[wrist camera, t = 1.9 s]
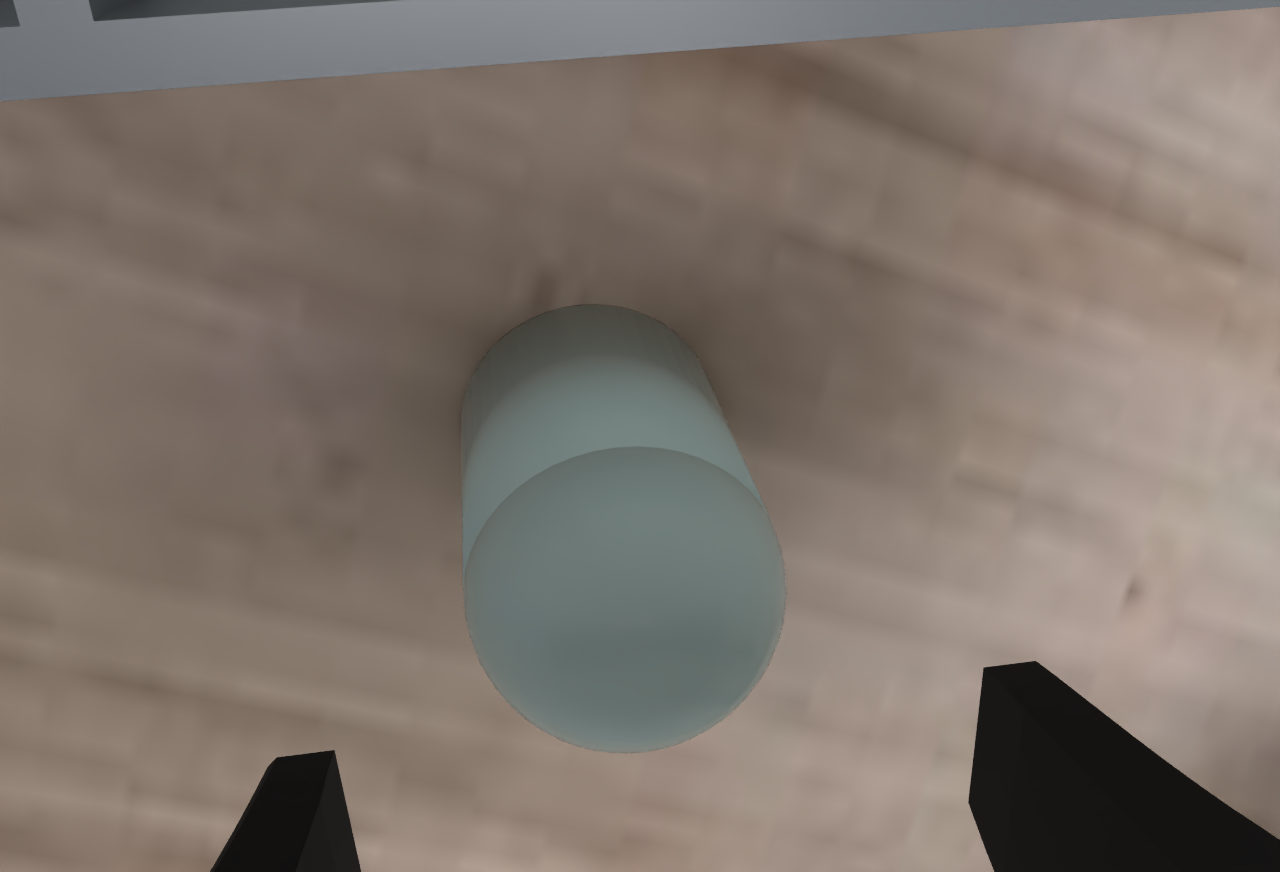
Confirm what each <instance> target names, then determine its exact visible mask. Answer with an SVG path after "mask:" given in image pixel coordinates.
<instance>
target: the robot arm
mask: <svg viewBox="0 0 1280 872" xmlns="http://www.w3.org/2000/svg"><path fill="white" fill-rule="evenodd" d="M969 805H970V808H971V811H972V813H973V816H974V819H975V822H976V824H977V827H978V830H979V833H980V835H981V838H982V841H983V844H984V846H985V849H986V852H987V854H988V857H989V859H990V862H991V864H992V867H993V869H994V872H1280V840H1279V839H1278V838H1276V837H1275V836H1273V835H1272V834H1270V833H1268V832H1267V831H1265V830H1264V829H1262V828H1261V827H1259V826H1258V825H1256V824H1255V823H1253V822H1252V821H1250V820H1249V819H1247V818H1246V817H1244V816H1243V815H1241V814H1240V813H1238V812H1237V811H1235V810H1234V809H1232V808H1231V807H1229V806H1228V805H1227V804H1225V803H1224V802H1222V801H1221V800H1219V799H1218V798H1217V797H1215V796H1214V795H1212V794H1211V793H1209V792H1208V791H1207V790H1205V789H1204V788H1202V787H1201V786H1199V785H1198V784H1197V783H1195V782H1194V781H1193V780H1191V779H1190V778H1188V777H1187V776H1186V775H1184V774H1183V773H1181V772H1180V771H1179V770H1177V769H1176V768H1175V767H1173V766H1172V765H1171V764H1169V763H1168V762H1167V761H1165V760H1164V759H1163V758H1161V757H1160V756H1159V755H1157V754H1156V753H1155V752H1153V751H1152V750H1151V749H1149V748H1148V747H1147V746H1145V745H1144V744H1143V743H1141V742H1140V741H1139V740H1137V739H1136V738H1135V737H1133V736H1132V735H1131V734H1130V733H1128V732H1127V731H1126V730H1124V729H1123V728H1122V727H1121V726H1119V725H1118V724H1117V723H1115V722H1114V721H1113V720H1111V719H1110V718H1109V717H1108V716H1106V715H1105V714H1104V713H1102V712H1101V711H1100V710H1099V709H1097V708H1096V707H1095V706H1094V705H1092V704H1091V703H1090V702H1088V701H1087V700H1086V699H1085V698H1083V697H1082V696H1081V695H1079V694H1078V693H1077V692H1076V691H1074V690H1073V689H1072V688H1071V687H1069V686H1068V685H1067V684H1065V683H1064V682H1063V681H1062V680H1060V679H1059V678H1058V677H1056V676H1055V675H1054V674H1052V673H1051V672H1050V671H1048V670H1047V669H1046V668H1044V667H1043V666H1042V665H1040V664H1039V663H1038V662H1036V661H1032V662H1024V663H1016V664H1008V665H1001V666H993V667H985V668H984V670H983V678H982V687H981V696H980V705H979V714H978V722H977V731H976V740H975V749H974V758H973V766H972V775H971V784H970V793H969ZM210 872H361V869H360V864H359V860H358V855H357V851H356V846H355V842H354V837H353V833H352V828H351V824H350V819H349V814H348V810H347V805H346V801H345V796H344V792H343V787H342V783H341V778H340V774H339V769H338V764H337V760H336V755H335V751H334V750H332V751H324V752H317V753H309V754H301V755H293V756H285V757H277V758H276V759H275V760H274V761H273V762H272V763H271V764H270V765H269V766H268V767H267V769H266V771H265V773H264V775H263V777H262V779H261V781H260V783H259V785H258V787H257V789H256V791H255V793H254V795H253V796H252V798H251V800H250V802H249V804H248V806H247V808H246V810H245V811H244V813H243V815H242V817H241V819H240V820H239V822H238V824H237V826H236V828H235V829H234V831H233V833H232V835H231V836H230V838H229V840H228V842H227V843H226V845H225V847H224V849H223V850H222V852H221V854H220V856H219V857H218V859H217V861H216V863H215V864H214V866H213V868H212V869H211V871H210Z"/></svg>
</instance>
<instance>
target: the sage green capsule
mask: <svg viewBox="0 0 1280 872" xmlns="http://www.w3.org/2000/svg"><path fill="white" fill-rule="evenodd" d="M461 473H462V542H463V595H464V609H465V617H466V622H467V627H468V631H469V636H470V639H471V641H472V644H473V647H474V649H475V652H476V654H477V657H478V659H479V662H480V664H481V666H482V668H483V669H484V671H485V673H486V674H487V676H488V678H489V679H490V681H491V682H492V684H493V685H494V687H495V688H496V690H497V691H498V692H499V693H500V694H501V696H502V697H503V698H504V699H505V700H506V702H507V703H508V704H509V705H511V706H512V707H513V708H514V709H515V710H516V711H517V712H518V713H519V714H520V715H522V716H523V717H524V718H525V719H526V720H527V721H529V722H530V723H531V724H533V725H534V726H536V727H537V728H539V729H540V730H542V731H544V732H546V733H548V734H550V735H552V736H554V737H556V738H558V739H560V740H562V741H564V742H567V743H569V744H572V745H575V746H578V747H581V748H586V749H590V750H594V751H602V752H610V753H640V752H649V751H654V750H660V749H664V748H667V747H671V746H674V745H677V744H680V743H682V742H685V741H687V740H690V739H692V738H694V737H696V736H698V735H700V734H702V733H703V732H705V731H707V730H709V729H710V728H712V727H713V726H715V725H716V724H718V723H719V722H721V721H722V720H723V719H724V718H726V717H727V716H728V715H729V714H731V713H732V712H733V711H734V710H735V709H736V708H737V707H738V706H739V705H740V704H741V703H742V702H743V701H744V700H745V699H746V697H747V696H748V695H749V693H750V692H751V691H752V689H753V688H754V687H755V685H756V684H757V683H758V682H759V680H760V679H761V677H762V676H763V674H764V672H765V670H766V669H767V667H768V665H769V663H770V660H771V658H772V655H773V653H774V651H775V648H776V646H777V643H778V640H779V638H780V634H781V630H782V626H783V621H784V614H785V605H786V594H787V593H786V577H785V565H784V560H783V556H782V551H781V547H780V544H779V541H778V537H777V534H776V532H775V530H774V527H773V525H772V522H771V520H770V517H769V515H768V513H767V511H766V508H765V506H764V504H763V502H762V499H761V497H760V495H759V493H758V490H757V488H756V486H755V484H754V481H753V479H752V477H751V475H750V472H749V470H748V468H747V466H746V463H745V461H744V459H743V457H742V454H741V452H740V450H739V448H738V445H737V443H736V441H735V439H734V436H733V434H732V432H731V430H730V427H729V425H728V423H727V421H726V418H725V416H724V414H723V412H722V409H721V407H720V405H719V403H718V400H717V398H716V396H715V394H714V391H713V389H712V387H711V385H710V382H709V380H708V378H707V376H706V374H705V371H704V369H703V367H702V365H701V364H700V362H699V360H698V358H697V357H696V355H695V354H694V352H693V351H692V350H691V349H690V347H689V346H688V345H687V344H686V342H684V341H683V340H682V339H681V338H680V337H679V336H678V335H677V334H676V333H675V332H674V331H672V330H671V329H669V328H668V327H667V326H665V325H664V324H662V323H661V322H659V321H657V320H655V319H653V318H651V317H649V316H647V315H645V314H642V313H639V312H636V311H634V310H631V309H626V308H622V307H617V306H610V305H599V304H593V305H576V306H570V307H564V308H560V309H556V310H553V311H549V312H546V313H543V314H541V315H539V316H536V317H534V318H532V319H529V320H528V321H526V322H524V323H522V324H521V325H519V326H517V327H516V328H514V329H513V330H511V331H510V332H509V333H508V334H506V335H505V336H504V337H502V338H501V339H500V340H499V341H498V342H497V343H496V344H495V345H494V346H493V347H492V348H491V349H490V350H489V351H488V353H487V354H486V355H485V356H484V358H483V359H482V360H481V362H480V363H479V365H478V366H477V368H476V370H475V372H474V373H473V375H472V377H471V379H470V382H469V384H468V387H467V389H466V392H465V397H464V401H463V405H462V413H461Z"/></svg>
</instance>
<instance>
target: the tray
mask: <svg viewBox="0 0 1280 872" xmlns="http://www.w3.org/2000/svg"><path fill="white" fill-rule="evenodd" d="M1267 7H1280V0H0V101H10V100H23V99H37V98H51V97H64V96H78V95H91V94H105V93H118V92H132V91H145V90H159V89H172V88H186V87H199V86H213V85H226V84H240V83H253V82H267V81H280V80H294V79H307V78H321V77H334V76H348V75H361V74H375V73H389V72H402V71H416V70H429V69H443V68H456V67H470V66H483V65H497V64H510V63H524V62H537V61H551V60H564V59H578V58H591V57H605V56H618V55H632V54H645V53H659V52H672V51H686V50H700V49H713V48H727V47H740V46H754V45H767V44H781V43H794V42H808V41H821V40H835V39H848V38H862V37H875V36H889V35H902V34H916V33H929V32H943V31H956V30H970V29H983V28H997V27H1011V26H1024V25H1038V24H1051V23H1065V22H1078V21H1092V20H1105V19H1119V18H1132V17H1146V16H1159V15H1173V14H1186V13H1200V12H1213V11H1227V10H1240V9H1254V8H1267Z"/></svg>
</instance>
